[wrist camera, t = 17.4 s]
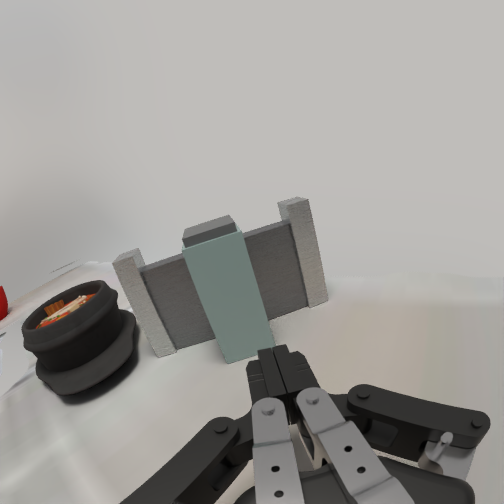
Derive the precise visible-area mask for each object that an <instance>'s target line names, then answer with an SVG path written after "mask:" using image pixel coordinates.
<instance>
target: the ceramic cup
mask: <svg viewBox="0 0 504 504" xmlns="http://www.w3.org/2000/svg"><path fill="white" fill-rule="evenodd" d="M7 311H8V303H7V298H6V295H5V292H4V289H3V287H2V286H0V320H2V319H3V318H4V317H6V316H7Z"/></svg>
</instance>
